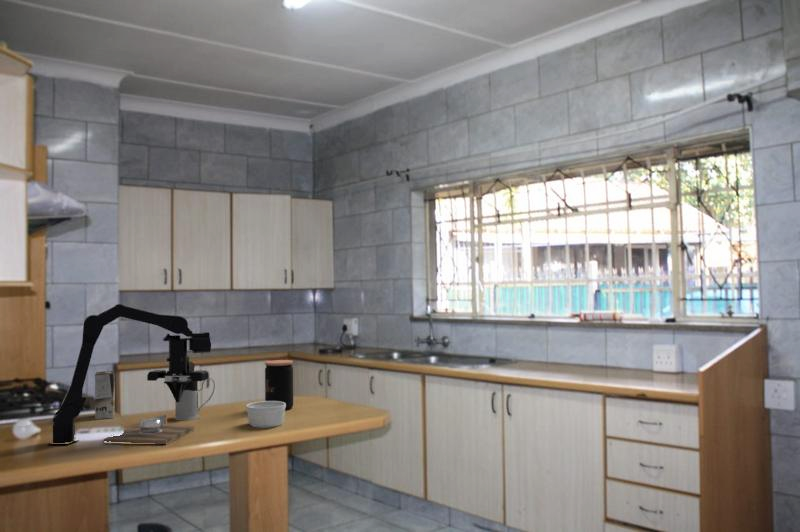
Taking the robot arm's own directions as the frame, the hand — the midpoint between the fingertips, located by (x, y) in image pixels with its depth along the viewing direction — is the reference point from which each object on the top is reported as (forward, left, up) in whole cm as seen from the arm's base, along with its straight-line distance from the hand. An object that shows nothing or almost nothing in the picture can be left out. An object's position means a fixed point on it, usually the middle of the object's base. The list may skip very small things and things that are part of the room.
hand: (178, 402), depth 225 cm
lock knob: (-4, +6, -8) cm, 10 cm away
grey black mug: (+24, +5, -10) cm, 26 cm away
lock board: (-7, +6, -10) cm, 13 cm away
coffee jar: (+42, -21, -10) cm, 48 cm away
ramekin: (+14, -25, -10) cm, 30 cm away
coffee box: (+23, +39, -10) cm, 46 cm away
